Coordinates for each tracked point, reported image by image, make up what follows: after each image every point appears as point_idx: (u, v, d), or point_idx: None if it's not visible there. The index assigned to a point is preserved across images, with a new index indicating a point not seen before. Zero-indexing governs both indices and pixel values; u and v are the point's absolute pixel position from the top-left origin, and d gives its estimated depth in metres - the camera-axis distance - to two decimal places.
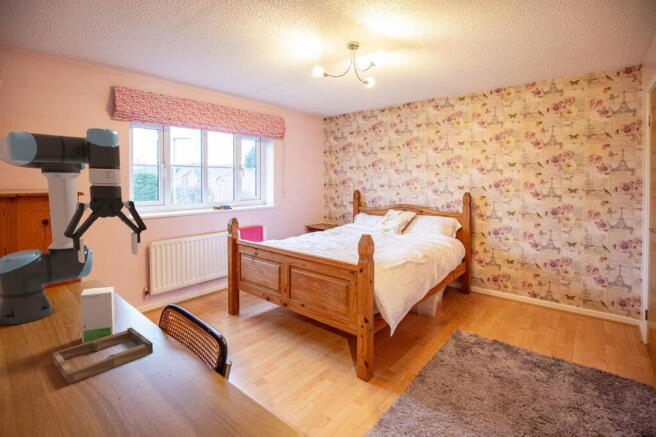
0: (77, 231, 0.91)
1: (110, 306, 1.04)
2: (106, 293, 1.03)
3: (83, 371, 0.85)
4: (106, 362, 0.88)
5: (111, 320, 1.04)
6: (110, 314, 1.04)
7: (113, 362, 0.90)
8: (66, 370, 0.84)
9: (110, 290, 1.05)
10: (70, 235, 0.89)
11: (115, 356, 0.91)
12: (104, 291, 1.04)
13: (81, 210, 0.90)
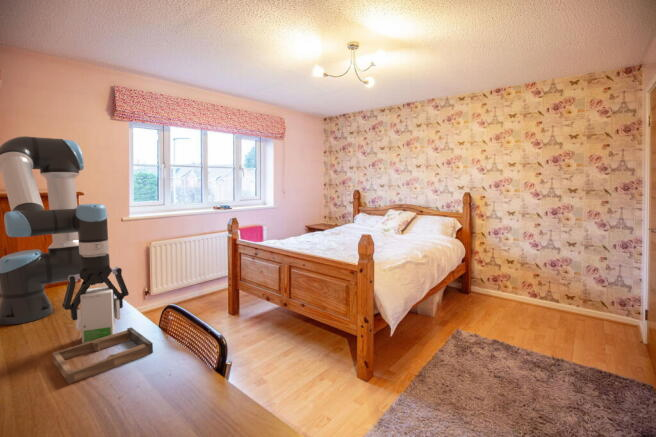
0: (73, 302, 1.00)
1: (110, 306, 1.04)
2: (106, 293, 1.03)
3: (83, 371, 0.85)
4: (106, 362, 0.88)
5: (111, 320, 1.04)
6: (110, 314, 1.04)
7: (113, 362, 0.90)
8: (66, 370, 0.84)
9: (110, 290, 1.05)
10: (68, 307, 0.98)
11: (115, 356, 0.91)
12: (104, 291, 1.04)
13: (73, 283, 0.98)
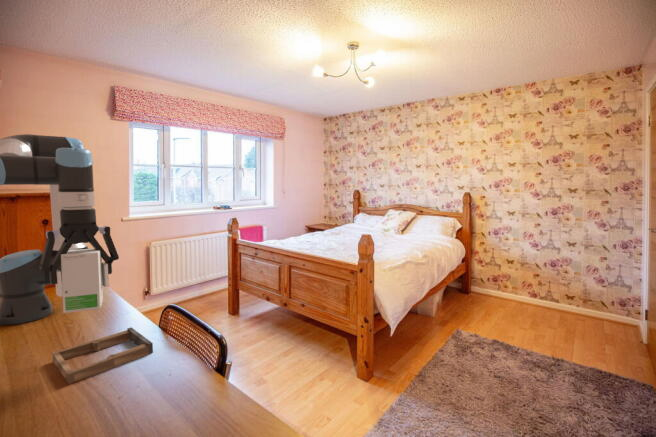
0: (53, 263, 0.85)
1: (96, 269, 0.89)
2: (91, 254, 0.88)
3: (83, 371, 0.85)
4: (106, 362, 0.88)
5: (98, 286, 0.89)
6: (97, 278, 0.89)
7: (113, 362, 0.90)
8: (66, 370, 0.84)
9: (97, 251, 0.90)
10: (46, 268, 0.83)
11: (115, 356, 0.91)
12: (89, 251, 0.89)
13: (51, 239, 0.83)
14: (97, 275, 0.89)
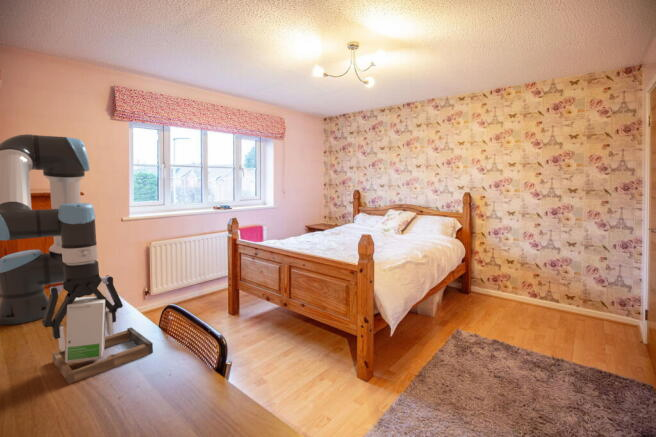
0: (55, 318, 0.85)
1: (101, 319, 0.89)
2: (97, 304, 0.89)
3: (83, 371, 0.85)
4: (106, 362, 0.88)
5: (101, 335, 0.90)
6: (100, 328, 0.90)
7: (113, 362, 0.90)
8: (66, 370, 0.84)
9: (102, 300, 0.91)
10: (48, 324, 0.83)
11: (115, 356, 0.91)
12: (95, 301, 0.90)
13: (55, 295, 0.84)
14: (101, 325, 0.90)
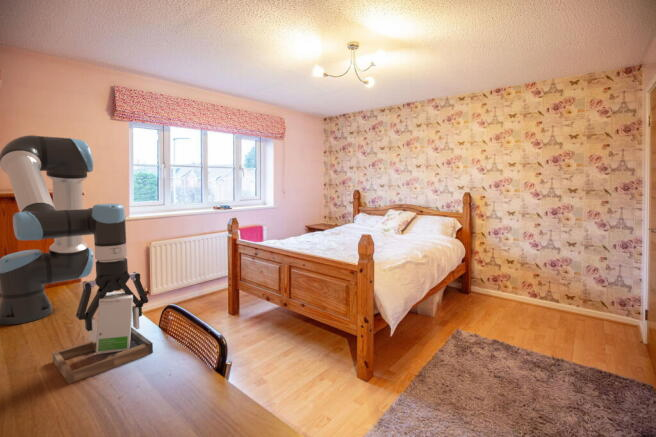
0: (88, 311, 0.91)
1: (129, 313, 0.95)
2: (126, 299, 0.94)
3: (83, 371, 0.85)
4: (106, 362, 0.88)
5: (129, 328, 0.95)
6: (128, 322, 0.95)
7: (113, 362, 0.90)
8: (66, 370, 0.84)
9: (130, 295, 0.96)
10: (82, 317, 0.89)
11: (115, 356, 0.91)
12: (124, 296, 0.95)
13: (88, 290, 0.89)
14: (129, 319, 0.95)
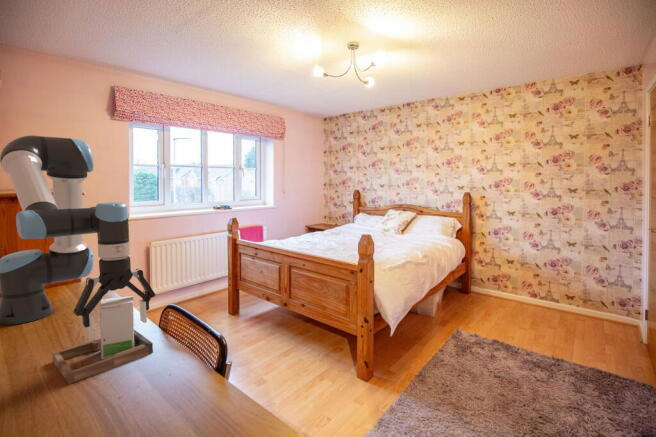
0: (86, 307, 0.90)
1: (131, 317, 0.96)
2: (127, 304, 0.95)
3: (83, 371, 0.85)
4: (106, 362, 0.88)
5: (132, 332, 0.97)
6: (131, 326, 0.96)
7: (113, 362, 0.90)
8: (66, 370, 0.84)
9: (131, 300, 0.97)
10: (80, 313, 0.88)
11: (115, 356, 0.91)
12: (124, 301, 0.96)
13: (90, 286, 0.90)
14: (132, 323, 0.96)
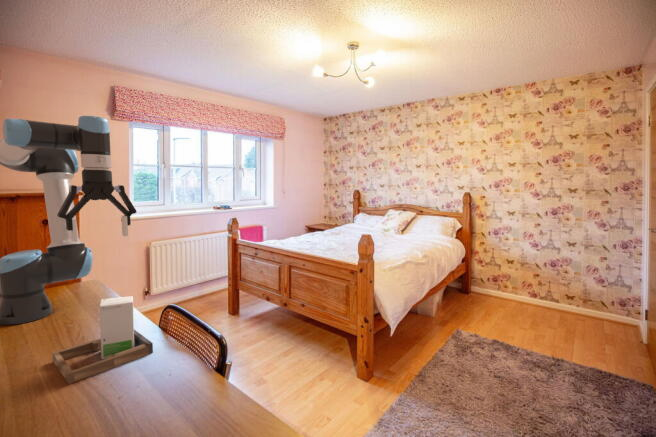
0: (70, 212, 0.97)
1: (131, 317, 0.96)
2: (127, 304, 0.95)
3: (83, 371, 0.85)
4: (106, 362, 0.88)
5: (132, 332, 0.97)
6: (131, 326, 0.96)
7: (113, 362, 0.90)
8: (66, 370, 0.84)
9: (131, 300, 0.97)
10: (63, 215, 0.95)
11: (115, 356, 0.91)
12: (124, 301, 0.96)
13: (73, 192, 0.96)
14: (132, 323, 0.96)
